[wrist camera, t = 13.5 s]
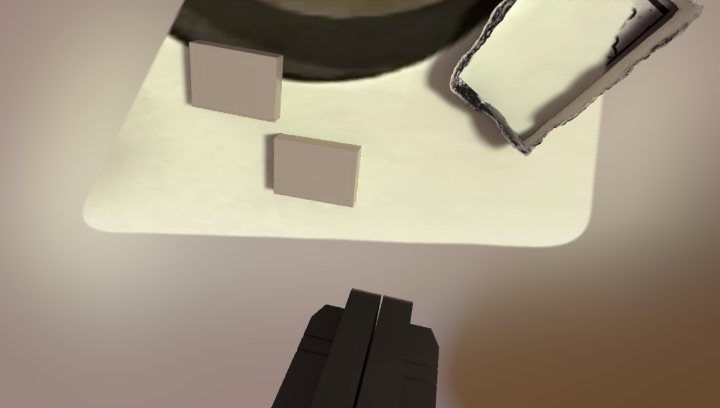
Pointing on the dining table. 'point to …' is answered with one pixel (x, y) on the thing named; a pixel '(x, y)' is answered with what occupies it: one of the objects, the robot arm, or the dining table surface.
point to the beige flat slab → (236, 80)
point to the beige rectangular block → (316, 169)
